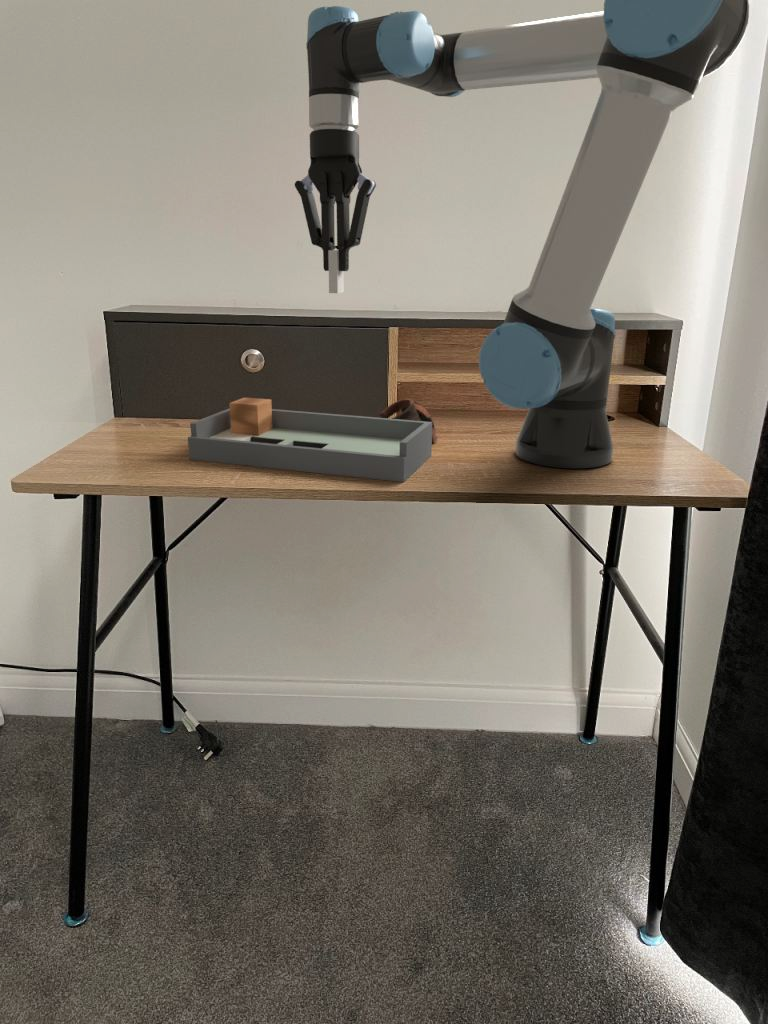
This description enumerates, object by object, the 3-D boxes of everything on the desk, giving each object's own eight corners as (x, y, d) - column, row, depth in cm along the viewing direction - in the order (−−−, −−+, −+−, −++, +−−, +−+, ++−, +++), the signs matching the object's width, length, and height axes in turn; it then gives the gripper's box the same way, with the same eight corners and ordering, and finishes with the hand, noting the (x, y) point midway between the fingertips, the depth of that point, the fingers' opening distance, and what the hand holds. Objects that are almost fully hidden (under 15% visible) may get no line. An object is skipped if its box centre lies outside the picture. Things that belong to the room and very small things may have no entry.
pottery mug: (439, 451, 123) (416, 411, 119) (389, 471, 127) (366, 432, 123) (445, 418, 133) (424, 380, 129) (399, 437, 137) (377, 400, 133)
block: (272, 429, 124) (271, 399, 122) (258, 435, 120) (257, 405, 118) (246, 426, 126) (244, 397, 124) (231, 433, 121) (229, 403, 119)
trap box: (431, 455, 118) (432, 422, 117) (403, 482, 105) (404, 444, 103) (237, 437, 129) (235, 406, 127) (189, 459, 115) (186, 424, 114)
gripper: (382, 132, 113) (381, 292, 121) (305, 135, 117) (309, 290, 125) (366, 125, 107) (366, 295, 115) (284, 128, 111) (290, 292, 119)
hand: (336, 292), depth 120 cm, fingers closed
